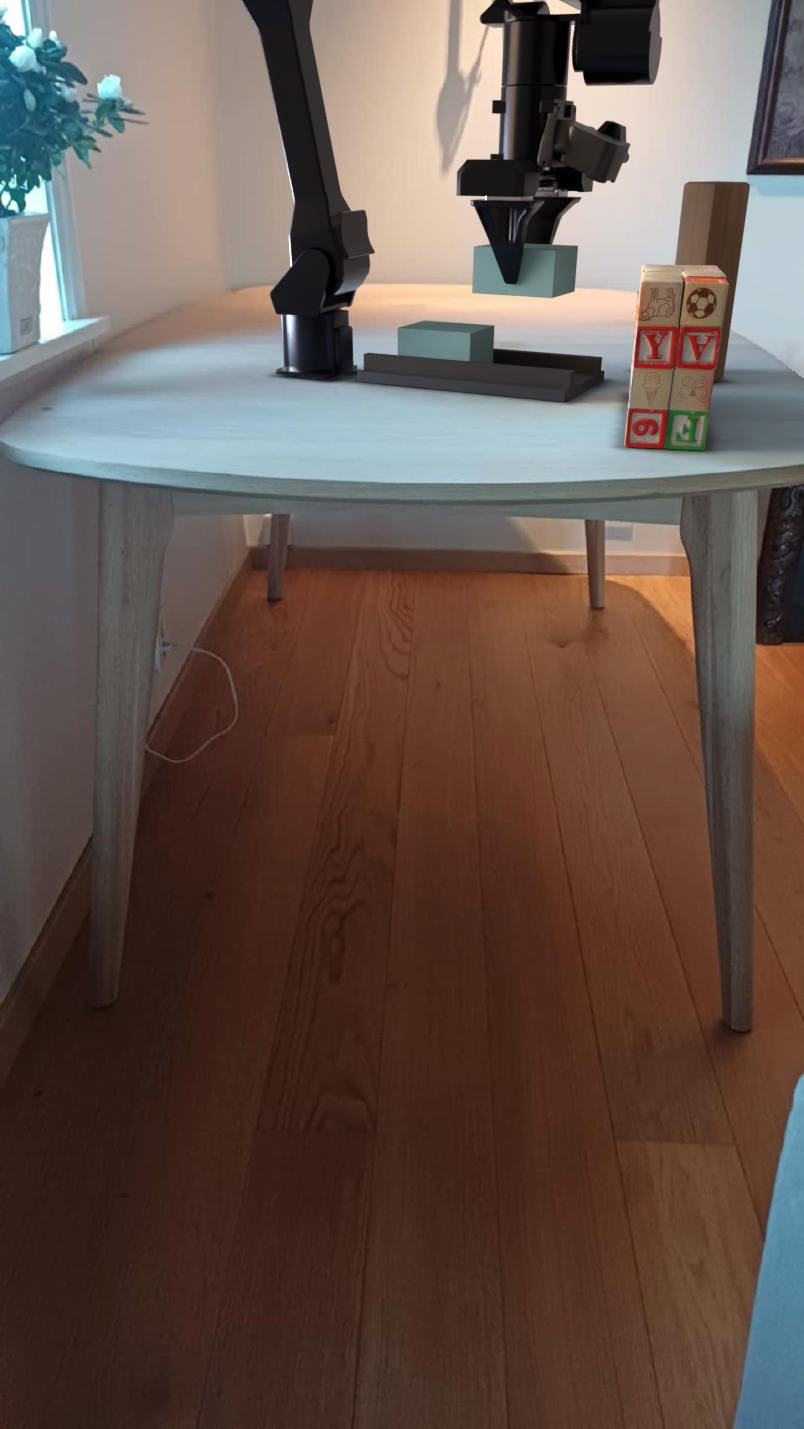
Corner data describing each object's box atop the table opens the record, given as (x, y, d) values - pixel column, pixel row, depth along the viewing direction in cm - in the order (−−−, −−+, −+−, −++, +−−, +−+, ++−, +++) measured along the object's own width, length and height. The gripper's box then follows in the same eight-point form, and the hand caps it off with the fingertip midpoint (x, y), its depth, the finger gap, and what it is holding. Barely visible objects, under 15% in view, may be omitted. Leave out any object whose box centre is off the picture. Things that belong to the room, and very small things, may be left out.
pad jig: (357, 381, 106) (356, 329, 104) (411, 363, 115) (411, 315, 113) (564, 402, 97) (568, 345, 95) (604, 380, 106) (608, 328, 104)
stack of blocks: (627, 393, 100) (641, 254, 95) (694, 396, 99) (713, 255, 94) (623, 447, 82) (640, 278, 76) (706, 451, 81) (730, 279, 75)
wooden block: (633, 370, 111) (652, 180, 103) (666, 367, 113) (688, 180, 105) (689, 385, 104) (715, 182, 96) (724, 381, 106) (752, 182, 98)
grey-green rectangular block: (471, 293, 98) (473, 246, 96) (497, 287, 103) (499, 242, 101) (552, 298, 95) (555, 250, 93) (574, 291, 99) (578, 245, 98)
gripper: (587, 78, 80) (571, 296, 88) (655, 90, 95) (636, 276, 102) (456, 82, 85) (451, 289, 92) (539, 93, 100) (529, 271, 107)
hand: (523, 281), depth 98 cm, fingers closed on grey-green rectangular block, 6 cm apart
